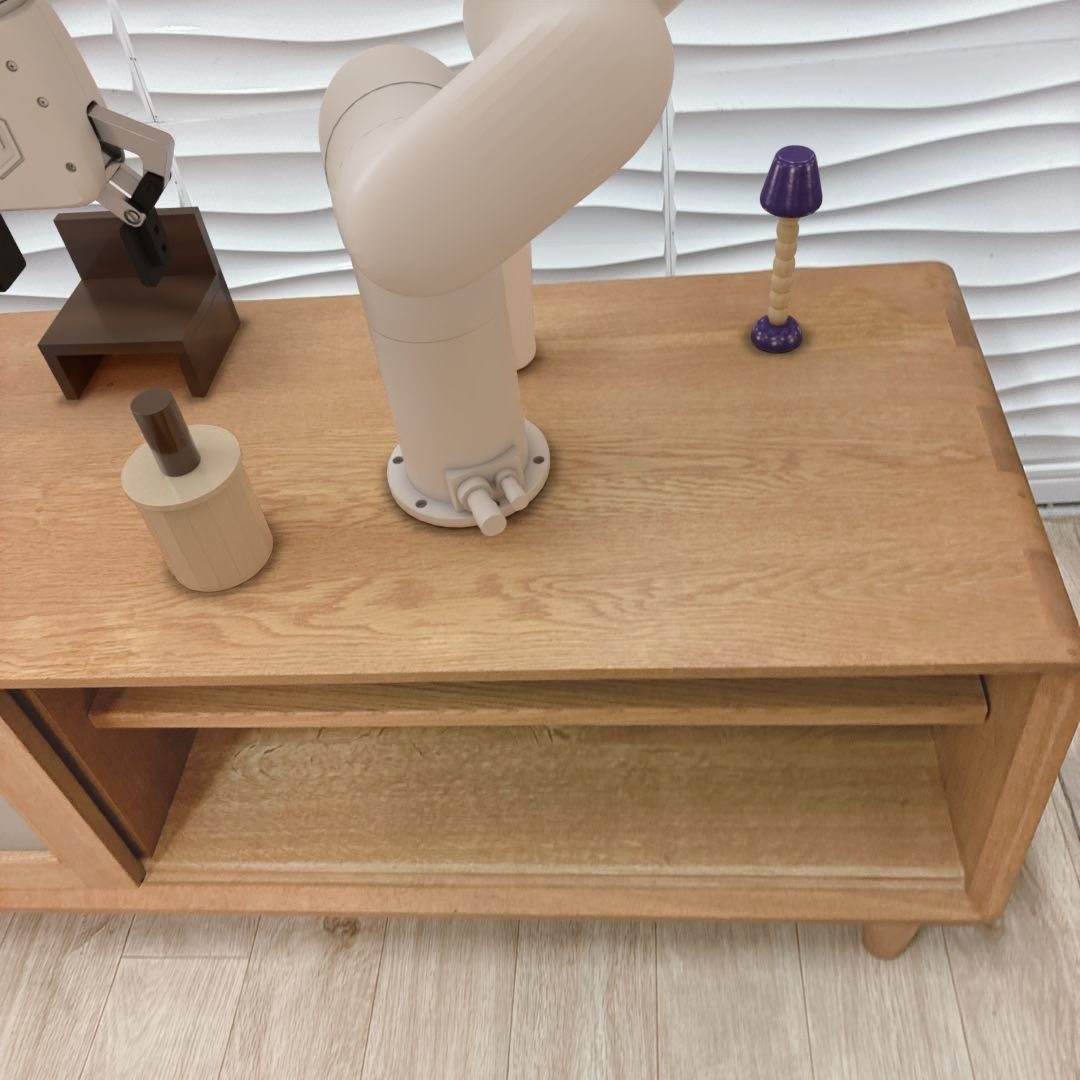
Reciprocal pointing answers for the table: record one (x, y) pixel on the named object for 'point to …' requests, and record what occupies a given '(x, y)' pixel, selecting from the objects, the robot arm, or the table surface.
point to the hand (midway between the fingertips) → (84, 277)
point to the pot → (214, 538)
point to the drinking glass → (520, 304)
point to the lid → (176, 456)
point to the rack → (140, 302)
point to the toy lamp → (786, 239)
